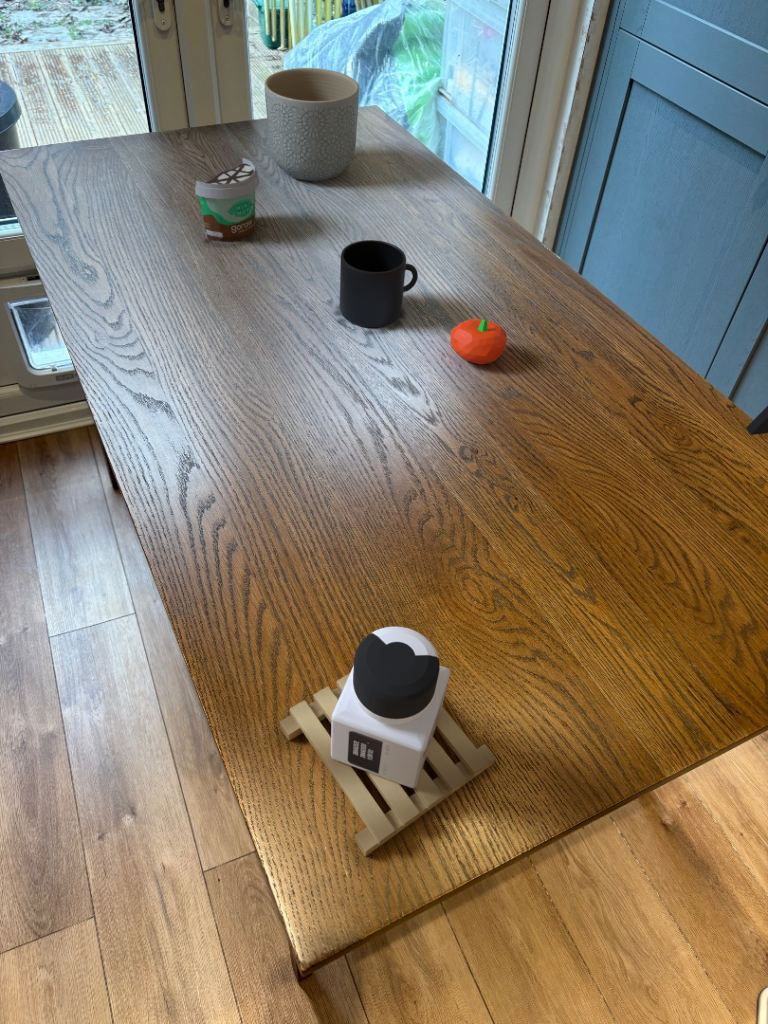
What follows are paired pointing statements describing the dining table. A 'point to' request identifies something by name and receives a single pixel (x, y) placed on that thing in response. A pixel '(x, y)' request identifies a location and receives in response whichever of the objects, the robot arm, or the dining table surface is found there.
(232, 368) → the dining table surface
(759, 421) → the robot arm
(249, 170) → the food container
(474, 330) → the pumpkin
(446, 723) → the rack
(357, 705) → the container
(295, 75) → the planter
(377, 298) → the mug
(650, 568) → the dining table surface
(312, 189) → the dining table surface
